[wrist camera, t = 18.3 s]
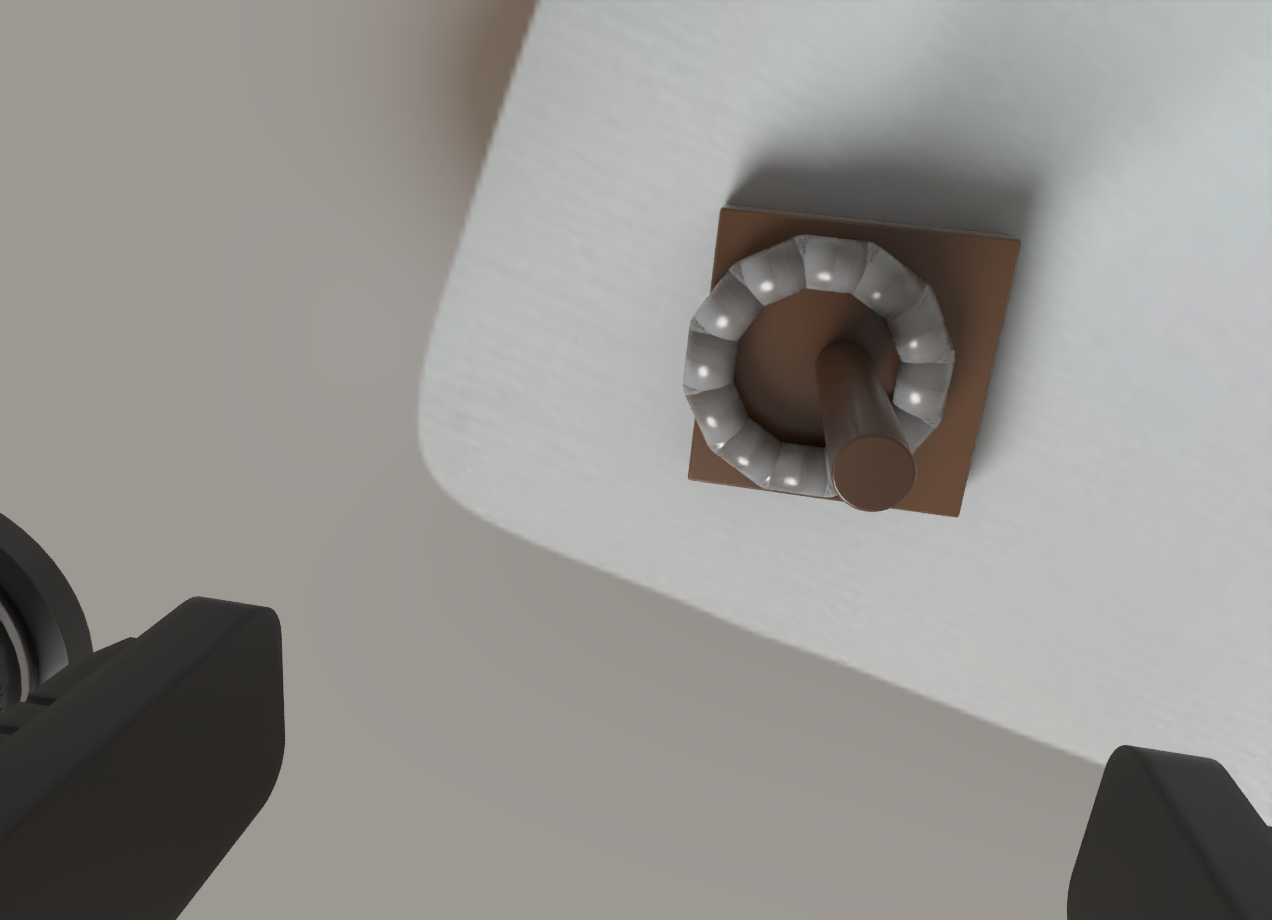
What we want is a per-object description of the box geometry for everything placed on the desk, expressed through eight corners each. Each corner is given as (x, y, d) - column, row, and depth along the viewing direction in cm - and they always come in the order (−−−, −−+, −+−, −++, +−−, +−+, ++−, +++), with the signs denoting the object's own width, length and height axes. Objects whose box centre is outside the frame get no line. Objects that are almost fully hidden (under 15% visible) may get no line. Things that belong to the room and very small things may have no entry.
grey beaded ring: (674, 466, 28) (669, 482, 27) (703, 220, 25) (699, 224, 24) (918, 500, 27) (926, 519, 26) (972, 250, 25) (983, 256, 23)
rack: (691, 464, 29) (646, 625, 20) (723, 203, 27) (689, 237, 17) (950, 500, 29) (1039, 688, 19) (1009, 234, 26) (1150, 289, 16)
